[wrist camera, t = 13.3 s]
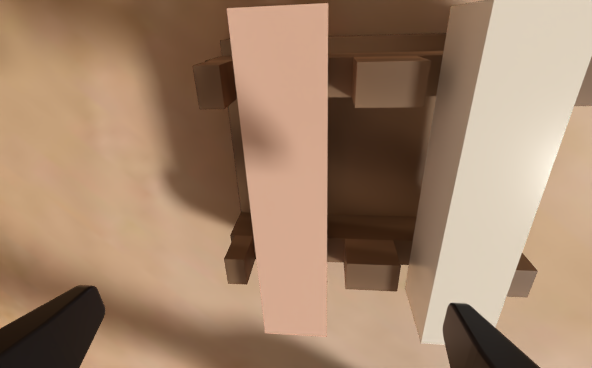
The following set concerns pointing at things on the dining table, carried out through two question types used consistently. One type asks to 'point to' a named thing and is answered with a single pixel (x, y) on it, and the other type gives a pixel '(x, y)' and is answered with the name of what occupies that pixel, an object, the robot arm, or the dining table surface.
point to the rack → (361, 153)
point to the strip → (492, 149)
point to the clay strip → (286, 156)
